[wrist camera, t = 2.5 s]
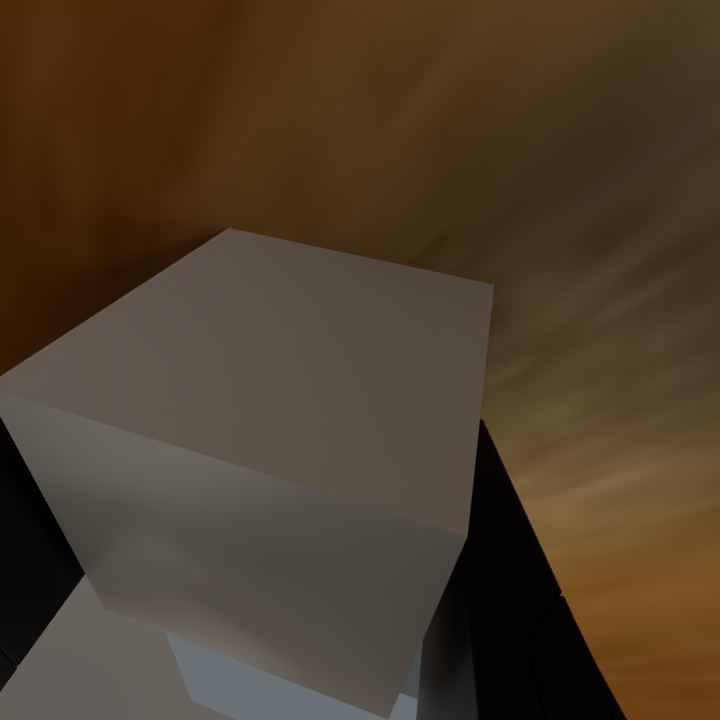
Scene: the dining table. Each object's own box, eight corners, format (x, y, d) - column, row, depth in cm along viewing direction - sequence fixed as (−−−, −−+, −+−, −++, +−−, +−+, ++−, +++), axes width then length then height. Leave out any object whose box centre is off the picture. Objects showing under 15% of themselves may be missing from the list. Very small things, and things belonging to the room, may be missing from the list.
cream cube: (494, 283, 8) (467, 536, 4) (436, 471, 11) (388, 719, 7) (229, 226, 9) (-16, 386, 5) (245, 416, 12) (104, 609, 8)
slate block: (462, 601, 14) (451, 712, 12) (413, 697, 20) (399, 786, 17) (208, 516, 16) (153, 599, 13) (227, 627, 21) (191, 700, 19)
